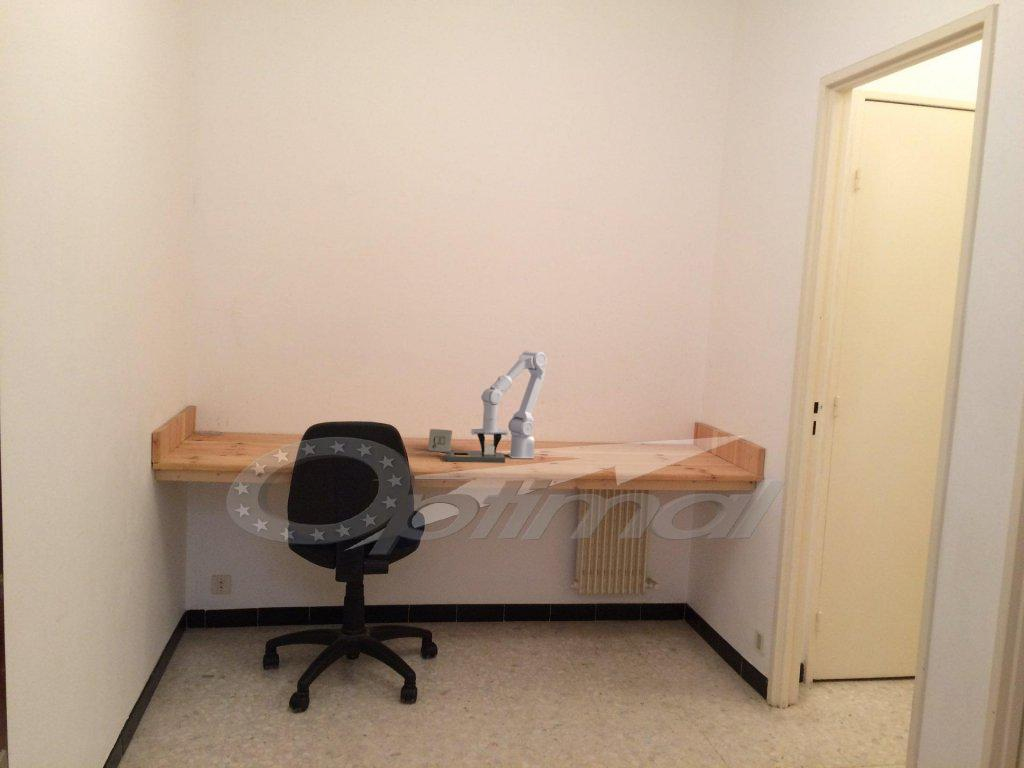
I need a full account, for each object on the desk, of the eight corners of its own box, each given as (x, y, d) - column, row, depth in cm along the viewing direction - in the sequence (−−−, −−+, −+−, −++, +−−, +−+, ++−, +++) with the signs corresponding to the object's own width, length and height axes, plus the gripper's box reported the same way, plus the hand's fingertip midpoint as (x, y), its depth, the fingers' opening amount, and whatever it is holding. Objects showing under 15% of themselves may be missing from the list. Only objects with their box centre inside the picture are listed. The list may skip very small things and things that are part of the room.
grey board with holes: (500, 457, 322) (501, 452, 322) (504, 462, 313) (505, 457, 312) (444, 456, 318) (444, 450, 318) (447, 461, 308) (447, 456, 308)
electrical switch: (427, 451, 326) (429, 429, 326) (429, 450, 331) (431, 428, 331) (449, 453, 325) (451, 430, 325) (451, 452, 331) (453, 429, 330)
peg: (492, 458, 319) (493, 444, 318) (493, 460, 315) (494, 446, 314) (482, 458, 318) (483, 443, 317) (483, 460, 314) (484, 445, 313)
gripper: (506, 417, 320) (504, 450, 321) (470, 416, 317) (469, 450, 319) (509, 420, 313) (507, 454, 314) (473, 419, 310) (471, 453, 312)
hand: (488, 452), depth 316 cm, fingers closed on peg, 4 cm apart
